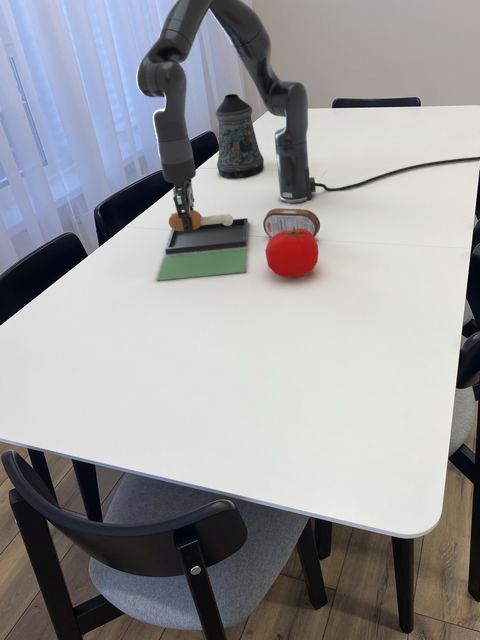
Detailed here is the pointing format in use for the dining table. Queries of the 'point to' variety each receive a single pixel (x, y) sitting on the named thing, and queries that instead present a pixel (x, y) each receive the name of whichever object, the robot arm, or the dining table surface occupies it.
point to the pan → (209, 237)
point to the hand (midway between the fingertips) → (190, 226)
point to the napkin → (203, 264)
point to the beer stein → (237, 140)
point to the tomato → (292, 253)
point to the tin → (290, 221)
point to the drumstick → (199, 220)
